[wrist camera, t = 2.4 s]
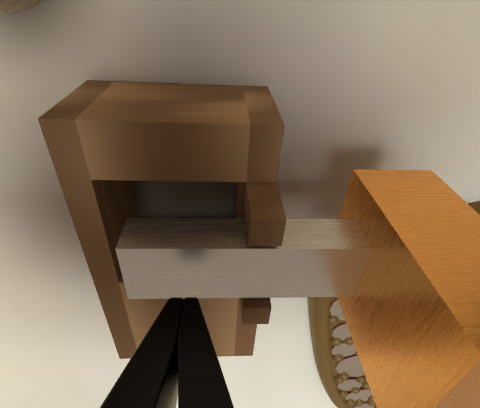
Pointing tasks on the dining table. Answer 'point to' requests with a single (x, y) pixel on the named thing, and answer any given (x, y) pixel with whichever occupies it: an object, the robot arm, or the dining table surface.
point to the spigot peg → (16, 5)
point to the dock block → (166, 169)
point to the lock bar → (347, 278)
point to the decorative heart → (340, 353)
